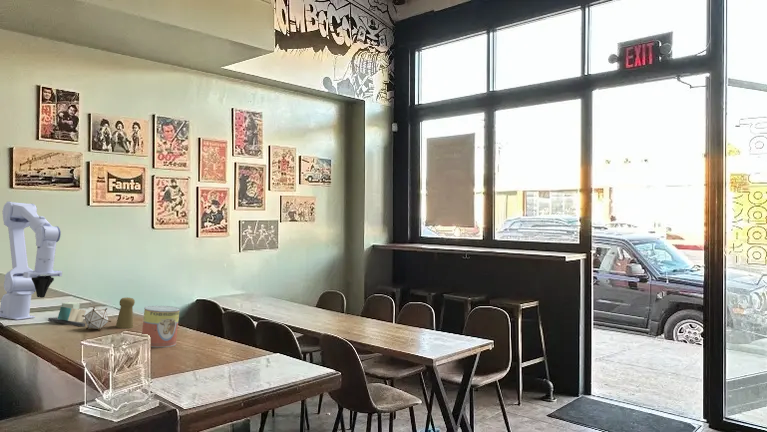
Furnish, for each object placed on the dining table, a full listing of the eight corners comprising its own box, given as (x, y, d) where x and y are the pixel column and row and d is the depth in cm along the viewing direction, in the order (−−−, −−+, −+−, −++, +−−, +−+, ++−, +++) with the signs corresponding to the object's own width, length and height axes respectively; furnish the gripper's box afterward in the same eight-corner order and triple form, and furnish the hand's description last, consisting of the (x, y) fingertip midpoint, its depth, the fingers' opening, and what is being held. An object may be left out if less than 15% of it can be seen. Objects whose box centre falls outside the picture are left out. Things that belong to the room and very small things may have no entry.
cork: (129, 325, 216) (132, 296, 217) (135, 328, 212) (138, 298, 212) (113, 325, 212) (116, 296, 212) (118, 328, 208) (122, 299, 208)
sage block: (60, 318, 216) (61, 303, 216) (66, 317, 220) (68, 301, 220) (71, 319, 216) (73, 304, 216) (78, 318, 220) (79, 302, 220)
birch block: (60, 306, 208) (76, 309, 215) (57, 318, 207) (72, 320, 214) (70, 308, 207) (85, 310, 214) (67, 320, 206) (82, 322, 212)
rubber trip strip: (48, 320, 210) (48, 317, 210) (50, 320, 211) (51, 317, 211) (82, 326, 205) (82, 323, 205) (85, 326, 206) (85, 323, 207)
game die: (100, 339, 204) (120, 318, 206) (87, 334, 196) (109, 312, 199) (84, 324, 206) (105, 303, 209) (71, 319, 198) (93, 297, 201)
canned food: (150, 348, 182) (154, 311, 182) (134, 341, 190) (138, 306, 190) (182, 345, 190) (186, 310, 191) (166, 339, 198) (169, 305, 198)
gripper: (36, 260, 194) (31, 300, 193) (70, 260, 207) (66, 296, 207) (20, 258, 195) (15, 297, 195) (55, 258, 209) (50, 294, 209)
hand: (40, 297), depth 201 cm, fingers closed
